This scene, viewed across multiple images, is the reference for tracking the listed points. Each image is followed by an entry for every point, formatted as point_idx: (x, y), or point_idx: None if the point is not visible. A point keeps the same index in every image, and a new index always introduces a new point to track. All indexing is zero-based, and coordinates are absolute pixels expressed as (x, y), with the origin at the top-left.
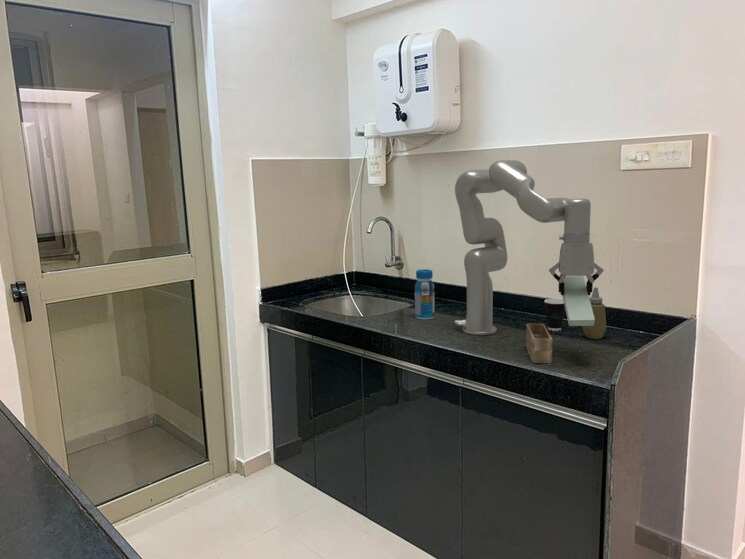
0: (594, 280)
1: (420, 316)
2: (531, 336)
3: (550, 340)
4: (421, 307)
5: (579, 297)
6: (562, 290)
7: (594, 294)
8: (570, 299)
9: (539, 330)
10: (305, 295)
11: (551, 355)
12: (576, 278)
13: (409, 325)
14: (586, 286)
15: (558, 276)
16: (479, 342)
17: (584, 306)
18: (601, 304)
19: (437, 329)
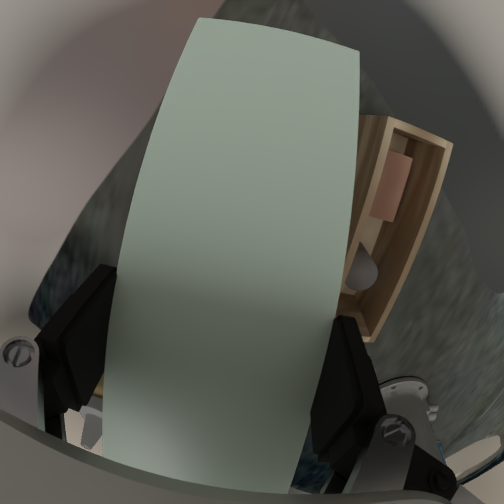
0: (2, 358)
1: (439, 444)
2: (438, 188)
3: (393, 118)
4: (442, 457)
5: (209, 247)
6: (360, 345)
7: (96, 427)
8: (300, 242)
9: None
10: (472, 478)
11: (367, 115)
12: None
13: (471, 414)
14: (100, 372)
15: (417, 483)
16: (440, 332)
17: (210, 127)
18: None
19: (452, 403)
